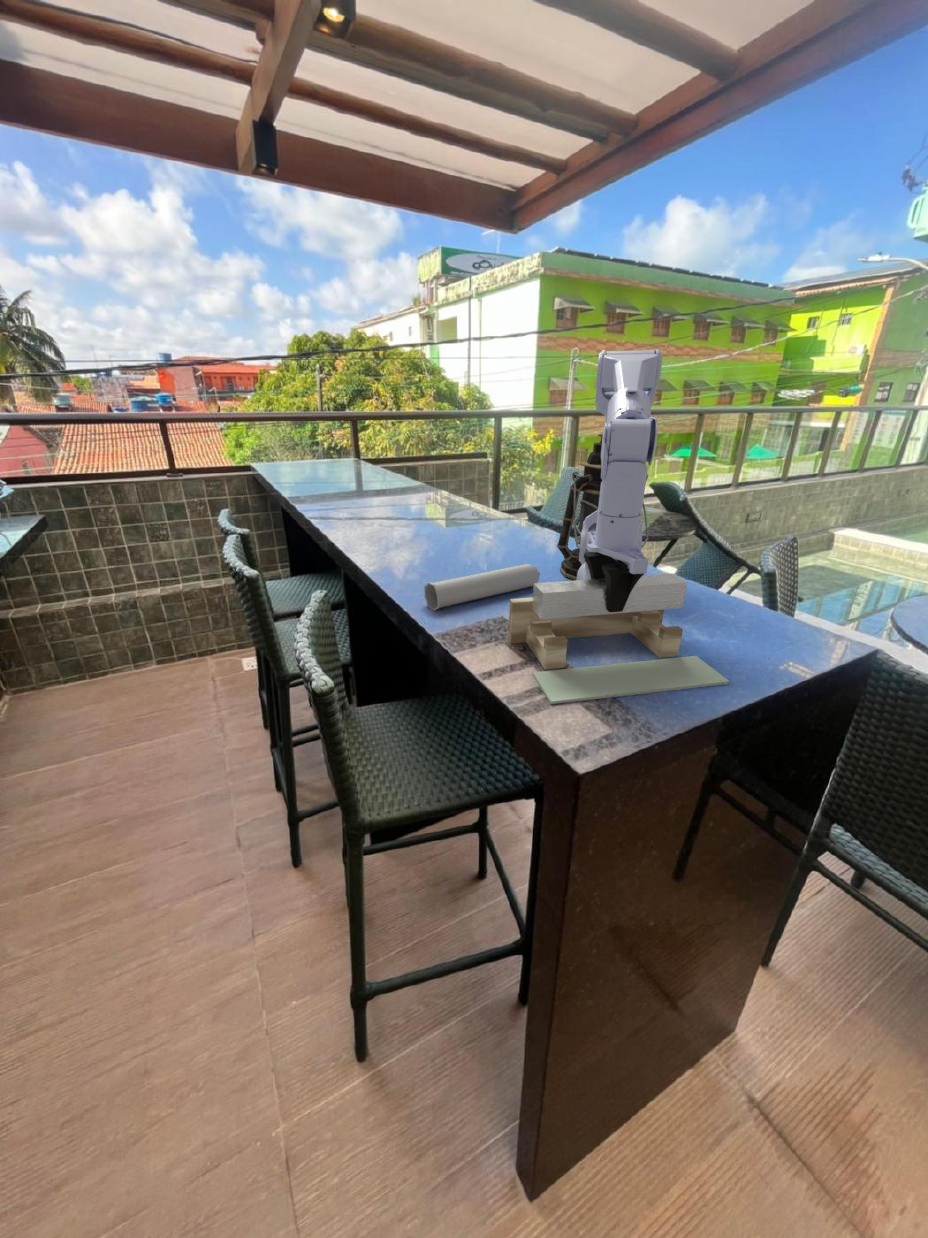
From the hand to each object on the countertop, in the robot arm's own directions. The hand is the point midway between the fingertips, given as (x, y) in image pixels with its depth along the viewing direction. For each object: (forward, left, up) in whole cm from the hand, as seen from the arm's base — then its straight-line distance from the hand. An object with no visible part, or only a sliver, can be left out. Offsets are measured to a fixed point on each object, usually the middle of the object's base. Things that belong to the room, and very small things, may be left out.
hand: (607, 605), depth 75 cm
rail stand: (-2, 0, -8) cm, 8 cm away
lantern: (-35, +15, -8) cm, 39 cm away
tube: (-27, -12, -8) cm, 30 cm away
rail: (0, 0, 0) cm, 0 cm away
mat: (+9, 0, -8) cm, 11 cm away
